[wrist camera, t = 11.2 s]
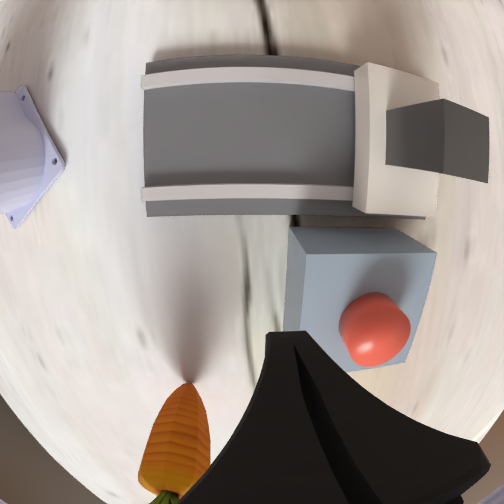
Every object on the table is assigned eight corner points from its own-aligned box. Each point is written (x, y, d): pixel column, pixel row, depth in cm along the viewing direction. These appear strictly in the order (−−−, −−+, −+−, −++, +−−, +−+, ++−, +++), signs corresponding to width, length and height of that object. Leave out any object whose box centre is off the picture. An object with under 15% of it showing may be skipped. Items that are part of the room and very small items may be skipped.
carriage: (352, 206, 16) (416, 241, 9) (353, 70, 13) (416, 32, 6) (417, 210, 16) (490, 242, 9) (421, 87, 13) (494, 71, 7)
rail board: (151, 213, 18) (143, 219, 16) (150, 67, 14) (142, 59, 13) (417, 216, 18) (430, 221, 17) (421, 87, 15) (434, 83, 13)
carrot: (167, 398, 23) (138, 537, 9) (157, 362, 22) (110, 521, 8) (218, 402, 24) (211, 549, 9) (215, 365, 22) (200, 539, 8)
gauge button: (334, 348, 15) (343, 370, 13) (343, 294, 14) (357, 313, 12) (387, 341, 15) (400, 361, 13) (400, 290, 14) (418, 307, 12)
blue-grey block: (283, 329, 21) (293, 377, 16) (288, 226, 18) (306, 254, 13) (377, 322, 21) (404, 362, 16) (395, 228, 19) (436, 252, 14)
